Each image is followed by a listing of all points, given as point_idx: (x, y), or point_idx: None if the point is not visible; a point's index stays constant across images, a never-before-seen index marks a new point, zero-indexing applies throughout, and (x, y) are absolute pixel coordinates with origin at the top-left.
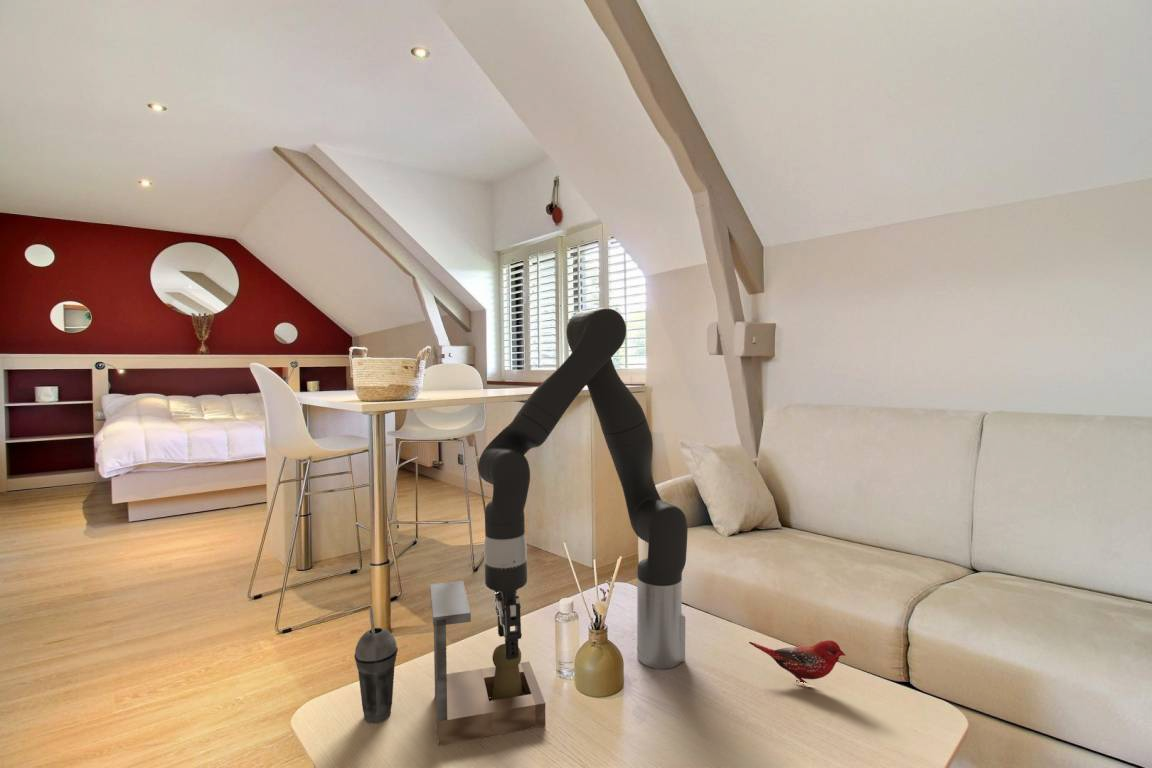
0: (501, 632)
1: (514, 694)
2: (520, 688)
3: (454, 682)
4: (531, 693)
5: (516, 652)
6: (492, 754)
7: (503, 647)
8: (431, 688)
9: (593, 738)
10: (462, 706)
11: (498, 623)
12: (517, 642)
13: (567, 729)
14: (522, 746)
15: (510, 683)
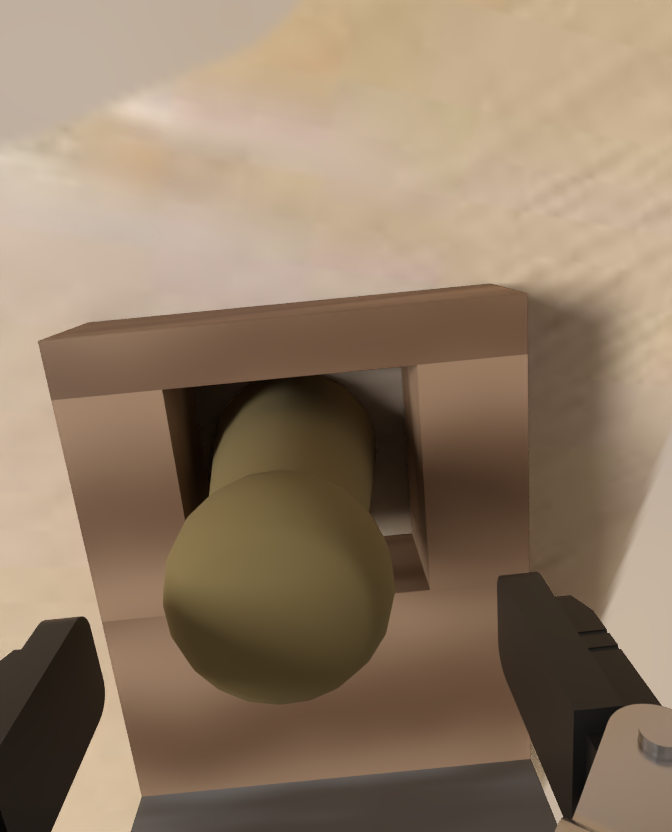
0: (86, 706)
1: (362, 451)
2: (323, 417)
3: (224, 744)
4: (410, 364)
5: (600, 625)
6: (613, 525)
7: (276, 656)
8: (107, 759)
9: (655, 43)
10: (442, 704)
11: (56, 817)
12: (593, 667)
13: (547, 173)
14: (603, 404)
15: (366, 498)
